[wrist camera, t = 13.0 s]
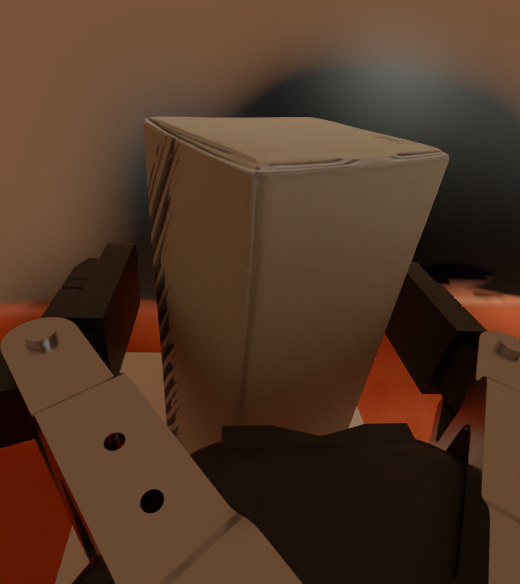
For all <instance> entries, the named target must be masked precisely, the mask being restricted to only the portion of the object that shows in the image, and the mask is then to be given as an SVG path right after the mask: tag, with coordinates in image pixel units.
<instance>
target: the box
mask: <svg viewBox="0 0 520 584" xmlns="http://www.w3.org/2000/svg"><path fill="white" fill-rule="evenodd" d="M144 136H145V150H146V166H147V183H148V196H149V211H150V222H151V240H152V247H153V263H154V272H155V285H156V295H157V309H158V320H159V331H160V342H161V355H162V369H163V381H164V394H165V409H166V421H167V427H168V428H169V429H170V431H171V432H172V433H173V434H174V436H175V437H176V438H177V440H178V441H179V442H180V443H181V445H182V446H183V447H184V449H185V450H186V451H187V452H188V454H189V455H190V454H192V453H193V452H195V451H197V450H199V449H201V448H204V447H206V446H208V445H211V444H214V443H217V442H221V433H222V426H245V425H272V426H277V427H281V428H286V429H291V430H295V431H300V432H305V433H309V434H314V435H328V434H331V433H334V432H338V431H341V430H345V429H348V428H349V426H350V423H351V420H352V418H353V415H354V412H355V410H356V407H357V404H358V402H359V399H360V397H361V394H362V391H363V389H364V386H365V383H366V381H367V378H368V375H369V373H370V370H371V367H372V365H373V362H374V359H375V357H376V354H377V351H378V349H379V346H380V343H381V341H382V338H383V335H384V333H385V330H386V328H387V325H388V322H389V320H390V317H391V315H392V312H393V309H394V306H395V303H396V301H397V299H398V296H399V293H400V290H401V287H402V285H403V282H404V279H405V277H406V274H407V271H408V269H409V266H410V264H411V261H412V258H413V255H414V252H415V250H416V246H417V244H418V242H419V239H420V236H421V234H422V231H423V229H424V226H425V223H426V220H427V218H428V215H429V213H430V210H431V207H432V205H433V202H434V199H435V197H436V194H437V191H438V188H439V186H440V183H441V180H442V178H443V175H444V172H445V169H446V167H447V164H448V161H449V156H448V155H447V154H445V153H443V152H442V151H441V150H439V149H437V148H435V147H431V146H428V145H424V144H420V143H416V142H413V141H409V140H405V139H400V138H396V137H392V136H387V135H383V134H379V133H375V132H370V131H366V130H362V129H358V128H354V127H350V126H347V125H343V124H339V123H335V122H331V121H327V120H321V119H317V118H310V117H296V118H295V117H292V118H291V117H290V118H288V117H287V118H286V117H282V118H199V117H152V118H147V119H145V120H144Z"/></svg>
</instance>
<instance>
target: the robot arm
mask: <svg viewBox="0 0 520 584" xmlns="http://www.w3.org/2000/svg"><path fill="white" fill-rule="evenodd" d="M139 304H140V280H139V267H138V252H137V247H136V245H135V244H123V243H108V244H107V246H106V247H105V249H104V251H103V253H102V254H101V256H100V258H99V259H95V258H88V259H86V260H85V261H83V262H81V263H80V264H78V265H77V266H75V267H74V268H73V270H72V271H71V273H70V275H69V276H68V279H67V280H66V281H65V282H64V284H63V285H62V289H60V290H59V291H58V293H57V294H56V296H55V297H54V299H53V300H52V302H51V303H50V305H49V306H48V308H47V309H46V311H45V313H44V314H43V316H42V317H41V318H40V319H35V320H31V321H28V322H26V323H23V324H21V325H19V326H17V327H16V328H14V329H12V330H11V331H10V332H9V333H8V334H7V335H6V336H5V337H4V338H3V340H2V342H1V345H0V448H3V447H7V446H10V445H14V444H17V443H21V442H25V441H28V440H32V439H34V440H35V442H36V444H37V446H38V449H39V451H40V453H41V455H42V457H43V460H44V462H45V464H46V466H47V468H48V471H49V473H50V475H51V477H52V479H53V482H54V484H55V486H56V488H57V490H58V492H59V495H60V497H61V499H62V501H63V504H64V506H65V508H66V511H67V513H68V516H69V518H70V521H71V523H72V525H73V528H74V530H75V532H76V535H77V537H78V539H79V542H80V544H81V546H82V548H83V550H84V553H85V555H86V557H87V559H88V562H89V564H88V565H87V566H86V567H85V568H84V570H83V571H82V572H81V573H80V574H79V575H78V577H77V578H76V579H75V580H74V581H73V582H72V584H520V340H519V339H517V338H515V337H512V336H510V335H507V334H504V333H500V332H495V331H487V330H486V329H485V328H484V327H483V326H482V325H481V324H480V323H479V322H478V321H477V320H476V319H475V318H474V317H473V316H472V315H471V314H470V313H469V312H468V311H467V310H466V309H465V308H464V307H462V305H461V304H460V303H459V302H458V301H457V300H456V299H454V297H453V296H452V295H451V294H450V293H449V291H448V290H447V289H446V288H445V287H443V286H442V285H440V284H439V283H437V282H435V281H434V280H433V279H432V278H431V277H430V276H429V275H428V274H427V273H426V272H425V271H424V270H423V269H422V268H421V266H420V265H419V264H417V263H412V262H411V264H410V266H409V269H408V271H407V274H406V277H405V279H404V282H403V285H402V287H401V290H400V293H399V296H398V299H397V301H396V303H395V306H394V309H393V312H392V315H391V317H390V320H389V322H388V325H387V328H386V330H385V334H386V336H387V337H388V339H389V341H390V342H391V344H392V346H393V347H394V349H395V350H396V352H397V354H398V355H399V357H400V359H401V360H402V362H403V364H404V365H405V367H406V369H407V370H408V372H409V374H410V375H411V377H412V379H413V380H414V382H415V383H416V385H417V387H418V388H419V390H420V392H421V393H422V394H441V395H442V399H441V400H440V402H439V403H438V406H437V410H436V415H435V419H434V424H433V429H432V434H431V439H430V443H426V442H423V441H420V440H416V439H415V438H414V436H413V434H412V432H411V430H410V429H409V427H408V425H407V423H391V424H362V425H359V426H355V427H352V428H348V429H345V430H341V431H338V432H334V433H331V434H328V435H314V434H309V433H305V432H300V431H295V430H291V429H286V428H281V427H277V426H272V425H245V426H222V433H221V442H217V443H214V444H211V445H208V446H206V447H204V448H201V449H199V450H197V451H195V452H193V453H192V454H190V455H189V454H188V452H187V451H186V450H185V449H184V447H183V446H182V445H181V443H180V442H179V441H178V440H177V438H176V437H175V436H174V434H173V433H172V432H171V431H170V429H169V428H168V427H167V425H166V424H165V423H164V422H163V420H162V419H161V418H160V416H159V415H158V414H157V413H156V411H155V410H154V409H153V407H152V406H151V405H150V404H149V402H148V401H147V400H146V398H145V397H144V396H143V395H142V393H141V392H140V391H139V389H138V388H137V387H136V386H135V384H134V383H133V382H132V380H131V379H130V378H129V377H128V376H127V375H126V374H124V373H120V370H121V366H122V363H123V360H124V356H125V353H126V350H127V346H128V343H129V340H130V336H131V333H132V330H133V326H134V323H135V320H136V316H137V313H138V309H139ZM119 373H120V374H119Z"/></svg>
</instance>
